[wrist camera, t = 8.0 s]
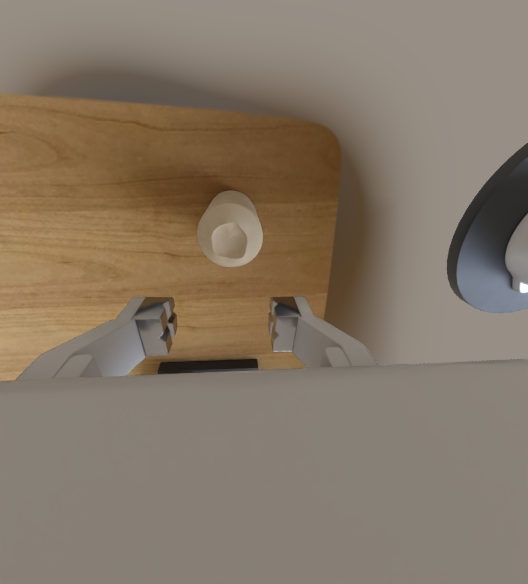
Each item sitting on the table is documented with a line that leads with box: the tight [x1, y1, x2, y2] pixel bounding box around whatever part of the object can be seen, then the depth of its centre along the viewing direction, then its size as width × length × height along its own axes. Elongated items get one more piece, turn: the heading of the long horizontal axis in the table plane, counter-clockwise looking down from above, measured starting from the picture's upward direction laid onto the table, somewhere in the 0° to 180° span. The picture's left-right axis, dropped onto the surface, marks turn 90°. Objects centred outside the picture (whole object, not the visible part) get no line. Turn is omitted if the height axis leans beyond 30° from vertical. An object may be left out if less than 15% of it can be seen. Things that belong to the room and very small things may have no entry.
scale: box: [158, 359, 258, 374], centre depth 40 cm, size 16×14×4 cm
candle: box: [197, 190, 263, 267], centre depth 22 cm, size 6×6×10 cm
